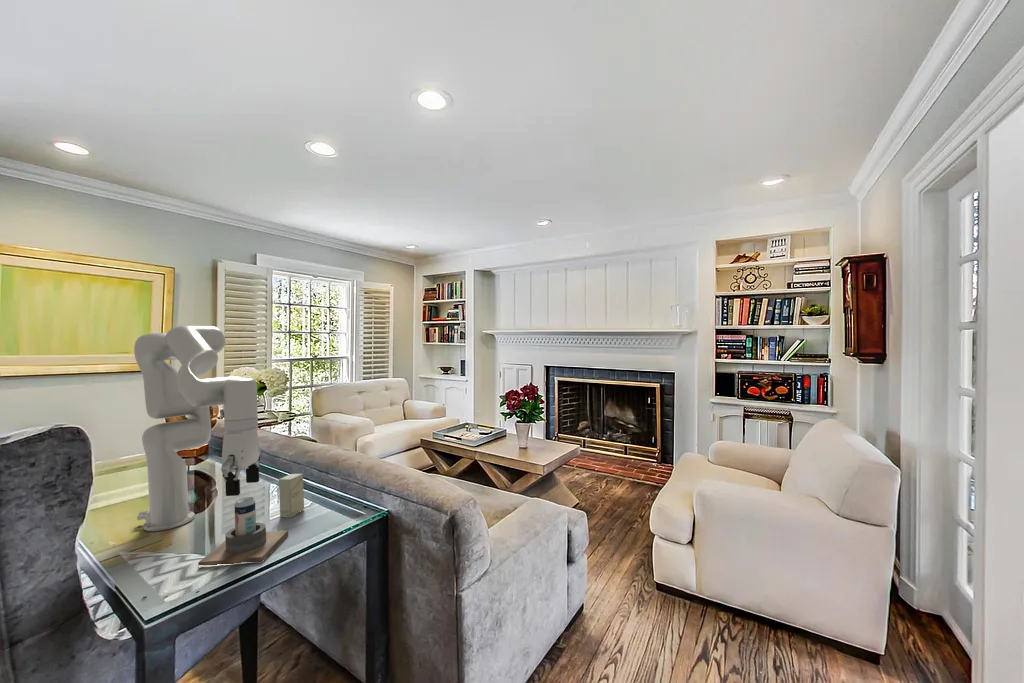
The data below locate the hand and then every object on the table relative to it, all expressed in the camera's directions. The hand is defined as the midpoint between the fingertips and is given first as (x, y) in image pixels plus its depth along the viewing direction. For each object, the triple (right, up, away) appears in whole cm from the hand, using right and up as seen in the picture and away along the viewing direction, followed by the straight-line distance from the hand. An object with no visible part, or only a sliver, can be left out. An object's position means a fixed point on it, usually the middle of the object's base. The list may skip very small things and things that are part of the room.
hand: (243, 488), depth 112 cm
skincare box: (+1, -17, +24) cm, 29 cm away
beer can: (+1, -15, 0) cm, 15 cm away
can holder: (+1, -17, 0) cm, 17 cm away
